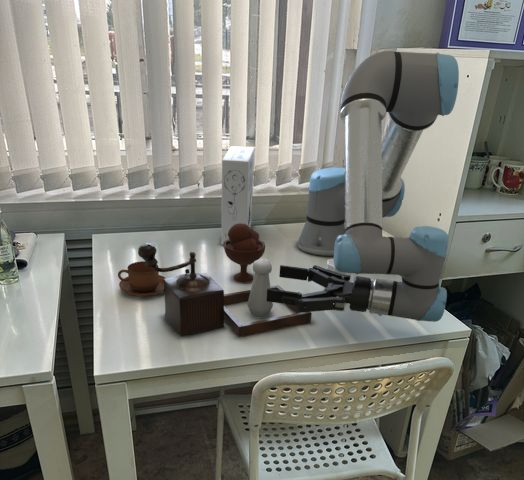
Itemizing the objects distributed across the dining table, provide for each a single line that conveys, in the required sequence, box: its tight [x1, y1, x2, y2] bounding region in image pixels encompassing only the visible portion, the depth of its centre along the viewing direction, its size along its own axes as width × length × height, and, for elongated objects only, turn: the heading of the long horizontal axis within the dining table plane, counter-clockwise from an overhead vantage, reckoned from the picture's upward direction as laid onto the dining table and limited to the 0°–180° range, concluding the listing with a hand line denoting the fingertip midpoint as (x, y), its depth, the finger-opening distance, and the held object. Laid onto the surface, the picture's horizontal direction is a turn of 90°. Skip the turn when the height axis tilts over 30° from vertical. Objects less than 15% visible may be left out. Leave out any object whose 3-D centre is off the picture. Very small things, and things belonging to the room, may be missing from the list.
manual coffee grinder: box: [137, 242, 225, 337], centre depth 110 cm, size 16×11×18 cm
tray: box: [224, 285, 313, 338], centre depth 119 cm, size 18×16×2 cm
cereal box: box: [220, 145, 255, 246], centre depth 161 cm, size 22×8×25 cm, turn 177°
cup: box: [326, 257, 353, 277], centre depth 131 cm, size 7×10×8 cm
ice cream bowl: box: [223, 223, 266, 284], centre depth 133 cm, size 11×11×15 cm
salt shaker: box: [247, 258, 274, 319], centre depth 117 cm, size 6×6×13 cm
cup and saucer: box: [117, 260, 167, 297], centre depth 127 cm, size 12×12×6 cm
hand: (273, 282), depth 115 cm, fingers open, 13 cm apart
